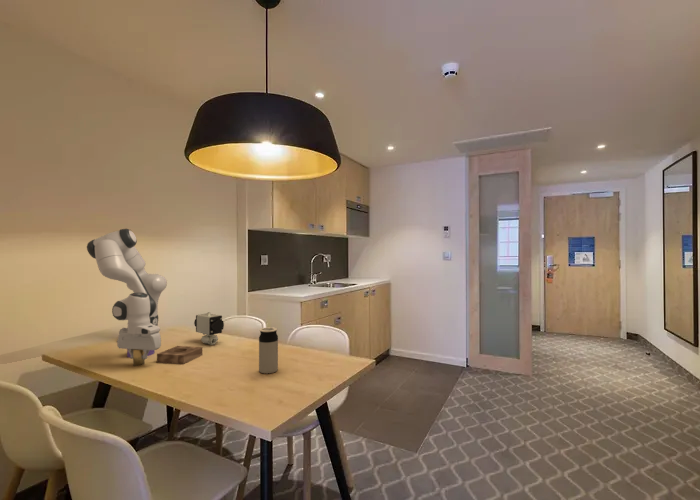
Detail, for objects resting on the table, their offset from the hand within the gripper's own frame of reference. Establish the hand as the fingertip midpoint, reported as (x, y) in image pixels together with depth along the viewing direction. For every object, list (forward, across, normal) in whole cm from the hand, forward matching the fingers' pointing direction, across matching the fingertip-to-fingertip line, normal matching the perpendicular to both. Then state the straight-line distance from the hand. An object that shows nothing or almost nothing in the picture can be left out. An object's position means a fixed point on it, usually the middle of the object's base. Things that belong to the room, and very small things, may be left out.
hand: (138, 358), depth 154 cm
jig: (+3, +13, +11) cm, 17 cm away
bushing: (+3, 0, 0) cm, 3 cm away
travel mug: (+3, +62, +3) cm, 62 cm away
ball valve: (+3, +11, +38) cm, 40 cm away
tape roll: (+3, -11, +14) cm, 18 cm away
